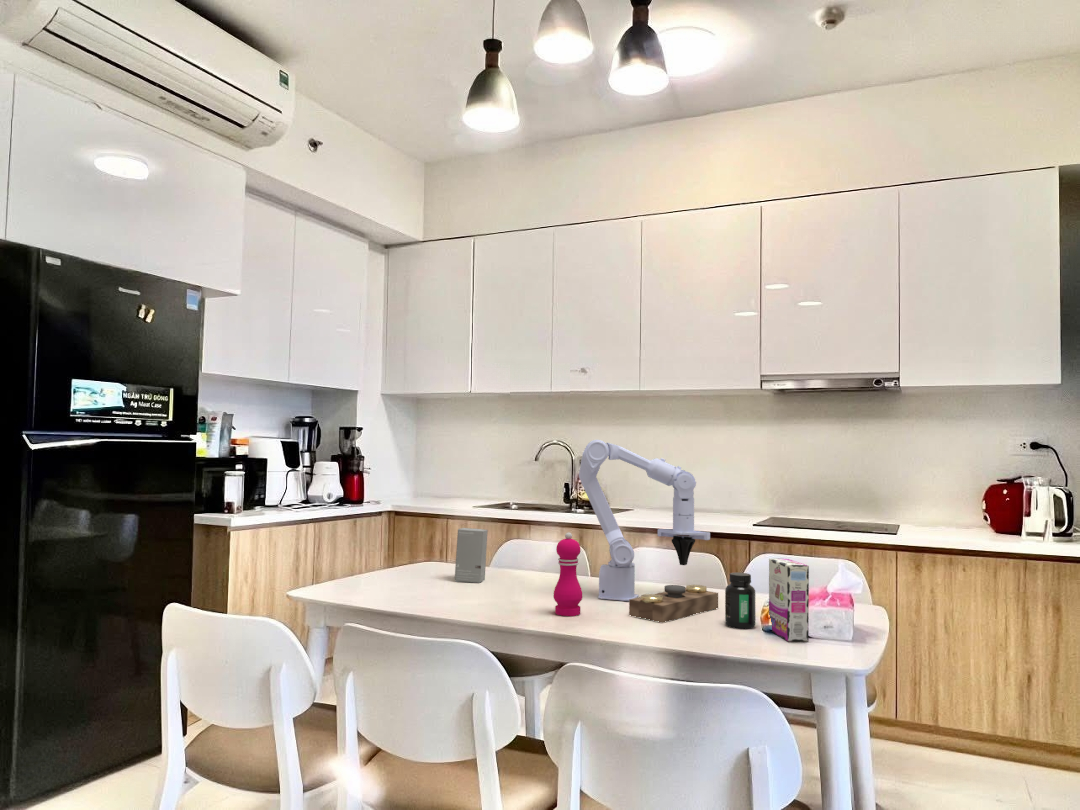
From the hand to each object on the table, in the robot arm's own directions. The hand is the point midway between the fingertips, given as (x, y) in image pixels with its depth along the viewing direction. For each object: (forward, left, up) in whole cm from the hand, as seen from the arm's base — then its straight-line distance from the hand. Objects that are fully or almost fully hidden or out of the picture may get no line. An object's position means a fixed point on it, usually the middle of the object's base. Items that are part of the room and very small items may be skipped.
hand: (683, 564), depth 205 cm
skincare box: (-65, 0, -10) cm, 66 cm away
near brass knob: (-3, -25, -9) cm, 27 cm away
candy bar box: (+29, -30, -10) cm, 42 cm away
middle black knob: (+1, -16, -8) cm, 18 cm away
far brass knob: (+5, -8, -9) cm, 13 cm away
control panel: (+1, -17, -9) cm, 19 cm away
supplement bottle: (+18, -25, -10) cm, 32 cm away
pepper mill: (-23, -30, -10) cm, 39 cm away
